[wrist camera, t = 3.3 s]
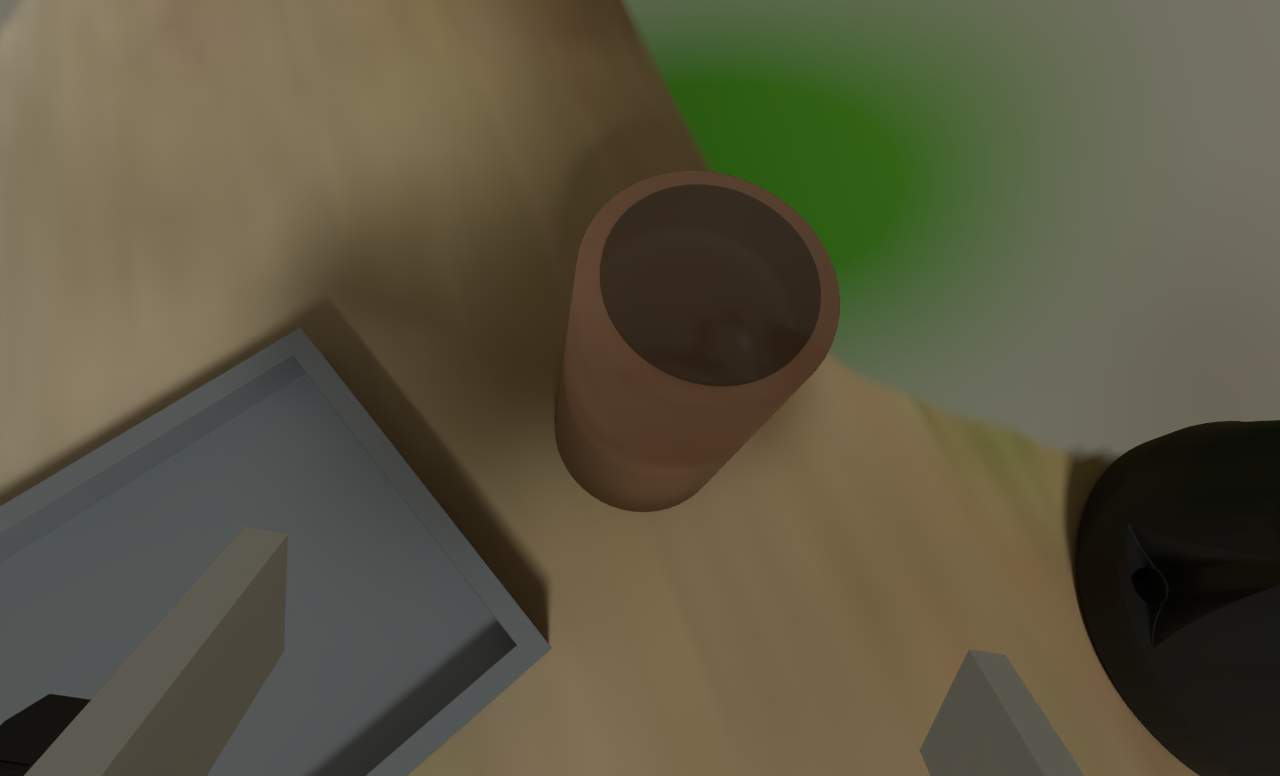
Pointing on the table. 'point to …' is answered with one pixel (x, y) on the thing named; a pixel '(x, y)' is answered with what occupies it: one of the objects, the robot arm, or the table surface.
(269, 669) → the robot arm
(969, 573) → the table surface
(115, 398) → the table surface
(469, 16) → the table surface
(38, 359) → the table surface
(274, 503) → the grey square tray
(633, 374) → the terracotta cup
